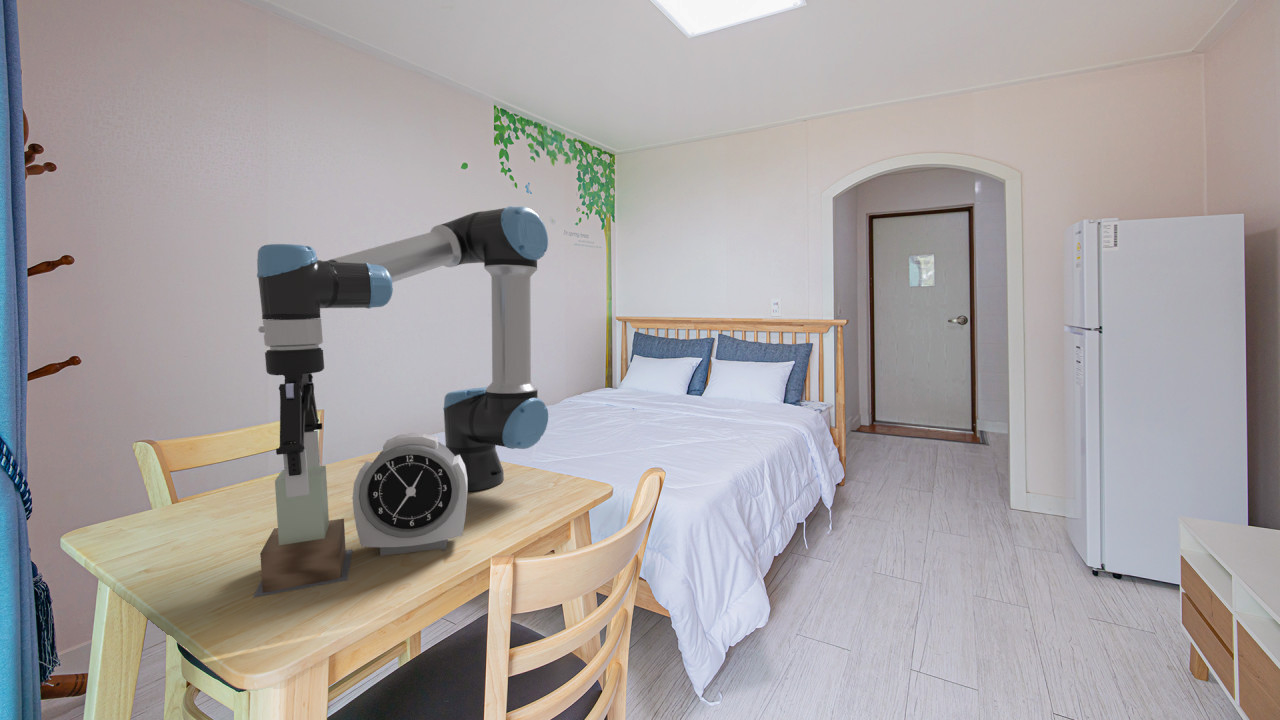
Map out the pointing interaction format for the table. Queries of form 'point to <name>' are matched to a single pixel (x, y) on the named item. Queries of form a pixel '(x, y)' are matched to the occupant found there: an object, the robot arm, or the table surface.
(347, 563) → the slate mat
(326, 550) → the walnut block
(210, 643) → the table surface
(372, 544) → the alarm clock
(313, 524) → the sage block
